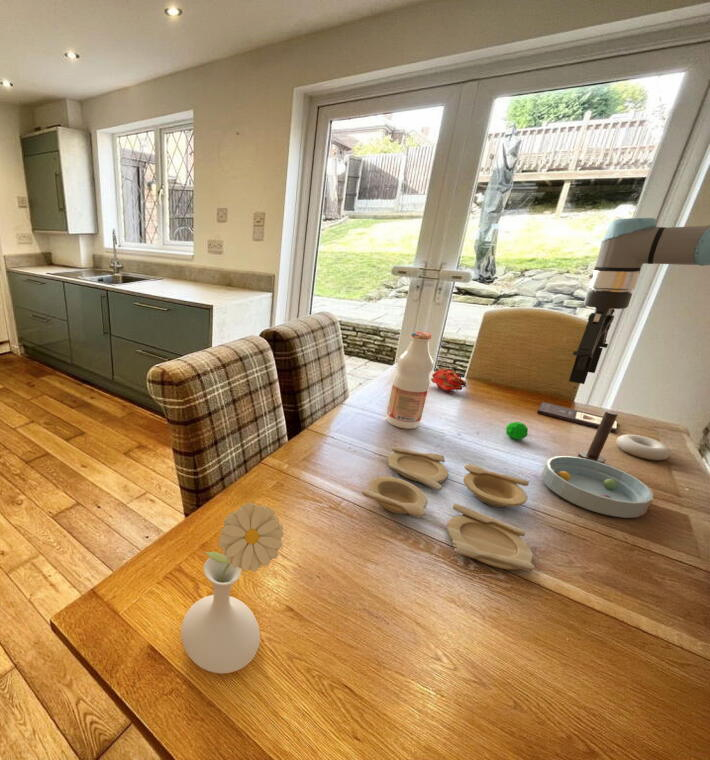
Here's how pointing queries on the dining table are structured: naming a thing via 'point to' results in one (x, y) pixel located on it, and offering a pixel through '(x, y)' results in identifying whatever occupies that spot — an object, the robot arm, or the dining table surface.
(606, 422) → the brown wooden peg
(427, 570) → the dining table surface
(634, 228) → the robot arm
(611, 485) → the bead
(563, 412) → the chocolate bar
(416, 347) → the fruit juice
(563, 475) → the bead
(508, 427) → the polyhedron
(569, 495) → the bowl
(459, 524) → the tableware set
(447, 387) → the dragon fruit
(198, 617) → the flower in vase
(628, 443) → the donut
